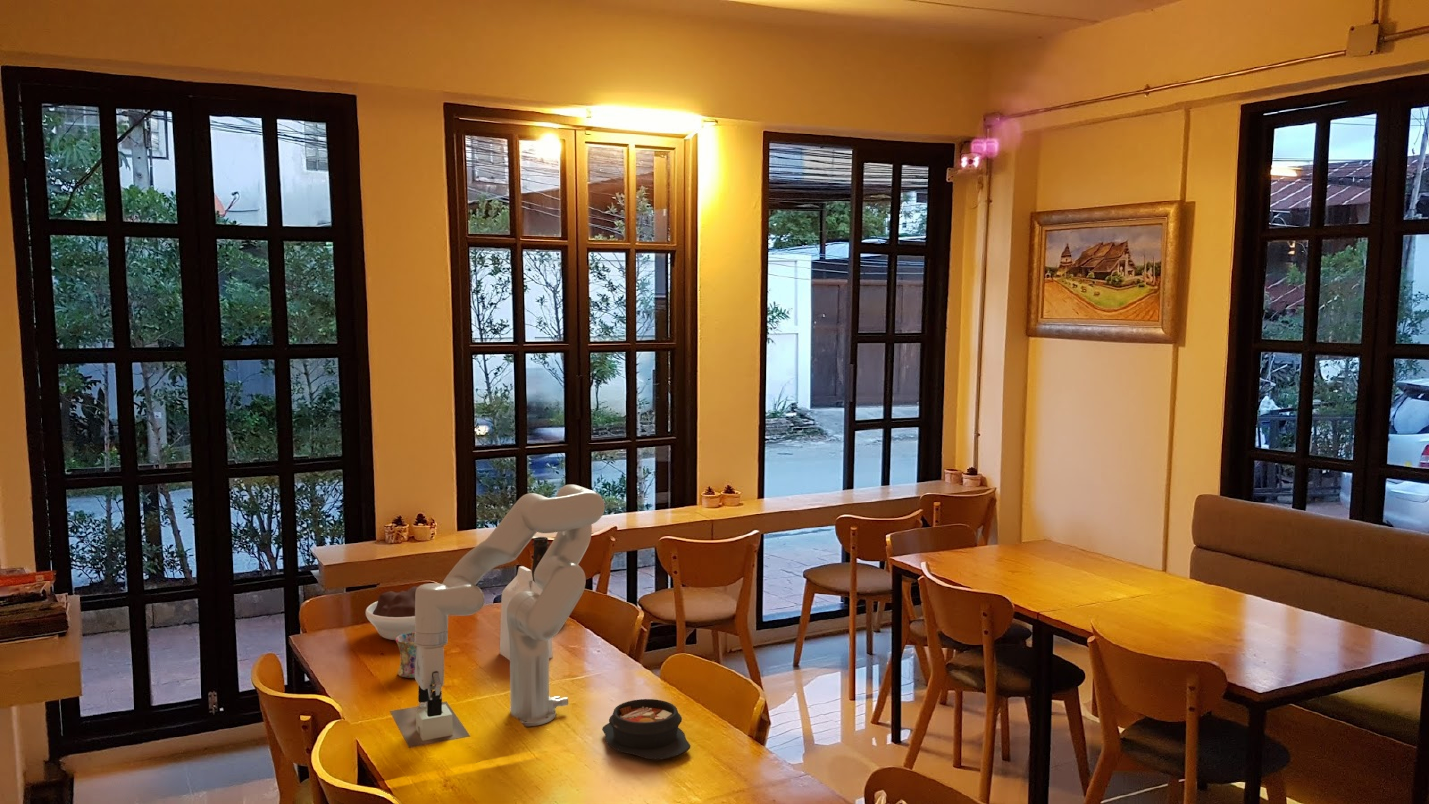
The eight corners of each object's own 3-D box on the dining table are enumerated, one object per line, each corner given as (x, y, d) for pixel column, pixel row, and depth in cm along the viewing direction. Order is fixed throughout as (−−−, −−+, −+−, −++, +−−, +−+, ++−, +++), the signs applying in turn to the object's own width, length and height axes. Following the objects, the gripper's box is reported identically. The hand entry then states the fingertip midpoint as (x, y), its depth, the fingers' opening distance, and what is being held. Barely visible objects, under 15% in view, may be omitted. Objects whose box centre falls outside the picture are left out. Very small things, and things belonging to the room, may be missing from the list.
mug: (437, 674, 286) (436, 637, 285) (407, 683, 279) (406, 645, 278) (415, 664, 294) (414, 627, 293) (385, 672, 287) (384, 635, 286)
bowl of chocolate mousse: (437, 649, 307) (436, 600, 305) (354, 648, 307) (352, 599, 306) (459, 624, 331) (458, 578, 330) (382, 623, 332) (381, 577, 330)
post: (426, 710, 256) (426, 689, 256) (430, 716, 252) (430, 695, 252) (416, 712, 255) (416, 690, 255) (420, 718, 251) (420, 696, 251)
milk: (553, 657, 300) (552, 570, 298) (516, 665, 294) (514, 575, 291) (535, 646, 310) (534, 561, 308) (499, 653, 303) (498, 567, 301)
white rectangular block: (445, 724, 248) (445, 704, 247) (452, 735, 242) (452, 714, 241) (416, 729, 244) (415, 709, 244) (422, 740, 238) (422, 719, 238)
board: (446, 707, 262) (446, 701, 262) (470, 742, 241) (470, 736, 241) (389, 717, 256) (389, 711, 256) (409, 753, 235) (409, 747, 234)
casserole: (583, 737, 244) (583, 703, 244) (649, 718, 256) (649, 686, 255) (641, 775, 225) (641, 738, 224) (709, 753, 236) (709, 718, 235)
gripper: (407, 628, 247) (406, 698, 248) (422, 649, 231) (421, 723, 233) (438, 625, 250) (437, 694, 251) (456, 646, 235) (454, 719, 236)
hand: (429, 708), depth 242 cm, fingers open, 9 cm apart
